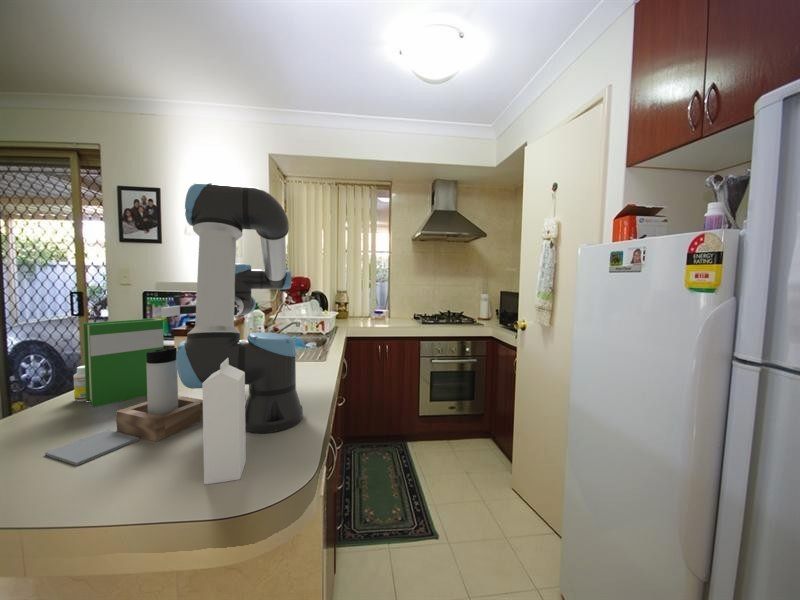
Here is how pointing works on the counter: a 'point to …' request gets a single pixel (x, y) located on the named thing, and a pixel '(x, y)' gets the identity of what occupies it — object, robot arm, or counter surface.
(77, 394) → the supplement bottle
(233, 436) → the milk
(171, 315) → the robot arm
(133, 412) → the cup stand
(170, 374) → the travel mug
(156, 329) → the hardback book
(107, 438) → the slate mat
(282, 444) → the counter surface
